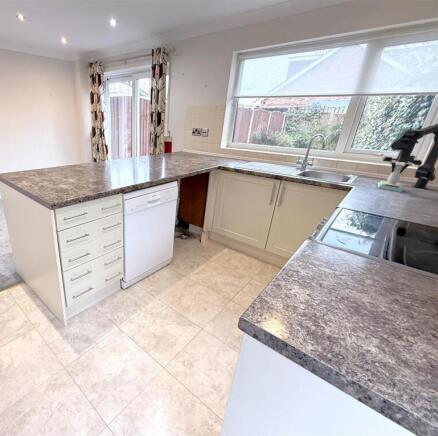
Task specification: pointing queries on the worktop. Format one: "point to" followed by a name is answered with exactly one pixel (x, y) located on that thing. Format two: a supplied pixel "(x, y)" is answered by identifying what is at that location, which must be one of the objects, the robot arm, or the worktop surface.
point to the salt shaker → (395, 174)
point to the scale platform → (390, 184)
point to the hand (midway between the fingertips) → (395, 173)
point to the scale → (390, 187)
